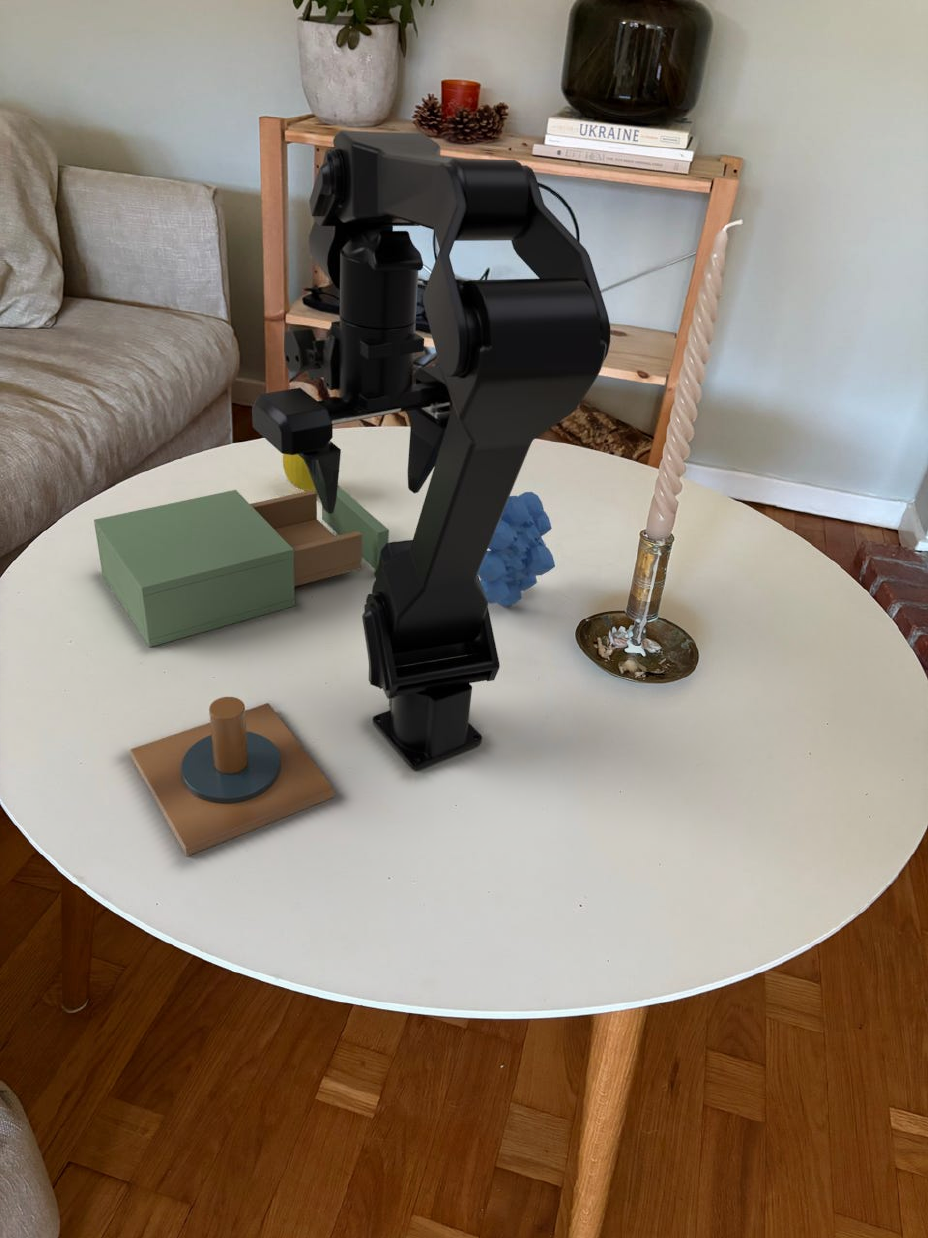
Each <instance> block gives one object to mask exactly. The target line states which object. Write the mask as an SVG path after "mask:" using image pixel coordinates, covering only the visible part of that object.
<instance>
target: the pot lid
mask: <svg viewBox="0 0 928 1238" xmlns="http://www.w3.org/2000/svg"><path fill="white" fill-rule="evenodd" d="M208 711H209V712H208V713H209V723H210V725H211V735H210V736H207V737H205V738H203V739H201V740H200V741H198V742H196V743H195V744H194V745H193V746H192V747H191V748H190V749H189V750H188V751H187V752H186V754H185V756H184V758H183V760H182V763H181V775H182V779H183V782H184V784H185V786H186V787H187V789H188V790H189V791H190V792H191V793H193V794H194V795H195V796H197V797H199V798H201V799H203V800H206V801H210V802H214V803H237V802H242V801H246V800H249V799H252V798H254V797H257V796H259V795H260V794H262V793H264V792H265V791H266V790H268V789H269V788H270V787H271V786H272V785H273V784H274V782H275V781H276V779H277V778H278V776H279V773H280V769H281V759H280V754H279V752H278V750H277V748H276V747H275V745H274V744H273V743H272V742H271V741H269V740H268V739H267V738H265V737H263V736H261V735H259V734H256V733H252V732H248V731H246V717H245V711H246V706H245V703H244V702H243V701H242V700H241V699H240V698H238V697H235V696H223V697H219V698H216V699H215V700H213V702H211V704H210V705H209V708H208Z"/></svg>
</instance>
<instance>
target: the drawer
mask: <svg viewBox="0 0 928 1238" xmlns="http://www.w3.org/2000/svg"><path fill="white" fill-rule="evenodd" d="M317 500H318V493H317V491H316V490H311V491H306V492H305V491H302V492H297V493H293V494H288V495H284V496H280V497H275V498H270V499H266V500H261V501H256V502H253V503H249V504H250V505H251V506H252V507H253V508H254V509H255V510H256V511H257V512H258V513H259V514H260V515H261V516H262V517H263V518H264V519H265V520H266V521H267V523H268V524H269V525H270V526H271V527H272V528H273V529H274V530H275V531H276V532H277V533H278V534H279V535H280V536H281V537H282V538H283V539H284V540H285V541H286V542H287V543H288V544H289V545H290V546H291V547H292V548H293V549H294V588H295V587H299V586H302V585H305V584H310V583H313V582H316V581H319V580H320V581H321V580H323V579H328V578H330V577H335V576H337V575H338V576H339V575H342V574H346V573H350V572H352V571H356V570H359V569H362V559H363V560H364V561H365V562H366V563H368V564H369V565H370V566H371V567H372V568H373V569H374V571H376V570H377V567H378V564H379V557H380V551H381V549H382V548H383V547H384V546H385V544H386V543H389V536H390V535H389V533H390V530H389V528H387V527H386V526H385V525H384V524H383V523H382V522H380V521H379V520H378V519H377V518H376V517H375V516H374V515H372V514H371V513H370V512H369V511H368V510H367V509H366V508H364V506H362V505H361V504H360V503H359V502H358V501H357V500H355V499H354V498H353V497H352V496H351V495H350V494H348V493H347V491H346V490H344V489H343V488H342V487H340V486H339V485H338V489H337V500H336V504H335V508H334V512H333V513H331V514H329V513H327V512H326V511H325V510H324V508H323V506H322V505H321V520H322V521H323V522H324V523H325V524H327V526H329V527H330V528H331V530H333V531H334V532H335V533H336V534H337V535H336V536H335V534H333V533H332V532H331V530H329V529H328V528H327V527H326V526H325V525H324V524H323V523H322V522H321V521H320V520H318V501H317Z"/></svg>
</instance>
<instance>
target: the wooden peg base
mask: <svg viewBox="0 0 928 1238" xmlns="http://www.w3.org/2000/svg"><path fill="white" fill-rule="evenodd" d="M245 717H246V731H248V732H252V733H256V734H259V735H261V736H263V737H265V738H267V739H268V740H269V741H271V742H272V743H273V744H274V745H275V747H276V748H277V750H278V752H279V754H280V759H281V769H280V773H279V776H278V778H277V779H276V781H275V782H274V784H273V785H272V786H271V787H270V788H269V789H268V790H266V791H265V792H264V793H262V794H260V795H259V796H257V797H254V798H252V799H249V800H246V801H242V802H237V803H214V802H210V801H206V800H203V799H201V798H199V797H197V796H195V795H194V794H193V793H191V792H190V791H189V790H188V789H187V787H186V786H185V784H184V782H183V779H182V775H181V763H182V760H183V758H184V756H185V754H186V752H187V751H188V750H189V749H190V748H191V747H192V746H193V745H194V744H195V743H196V742H198V741H200V740H201V739H203V738H205V737H207V736H210V735H211V725H210V722H208V723H204V724H201V725H198V726H196V727H195V726H194V727H192V728H190V729H187V730H184V731H181V732H178V733H174V734H171V735H168V736H166V737H162V738H159V739H156V740H153V741H151V742H148V743H145V744H141V745H139V746H136V747H132V748H130V750H129V752H130V757H131V759H132V761H133V763H134V765H135V767H136V768H137V770H138V772H139V774H140V775H141V777H142V779H143V781H144V782H145V785H146V786H147V788H148V790H149V792H150V793H151V796H152V797H153V799H154V801H155V802H156V804H157V806H158V808H159V809H160V811H161V813H162V815H163V817H164V818H165V820H166V822H167V824H168V825H169V828H170V829H171V831H172V833H173V834H174V836H175V838H176V840H177V842H178V843H179V845H180V847H181V849H182V851H183V852H184V854H185V856H186V857H189V856H192V855H195V854H196V853H200V852H202V851H204V850H206V849H209V848H211V847H215V846H216V845H219V844H222V843H224V842H227V841H229V840H232V839H234V838H236V837H239V836H241V835H244V834H246V833H249V832H251V831H253V830H256V829H258V828H259V829H260V828H261V827H263V826H266V825H269V824H271V823H273V822H276V821H278V820H281V819H284V818H286V817H289V816H290V815H291V816H292V815H293V814H295V813H298V812H301V811H303V810H305V809H308V808H311V807H313V806H315V805H318V804H320V803H322V802H325V801H328V800H330V799H333V798H335V789H334V787H333V786H332V785H331V783H330V782H329V781H328V780H327V778H326V777H325V775H324V774H323V773H322V772H321V770H320V769H319V768H318V766H317V765H316V764H315V762H314V761H313V760H312V758H311V757H310V755H308V753H307V752H306V750H305V749H304V748H303V747H302V745H301V744H300V742H299V741H298V740H297V738H295V736H294V734H293V733H292V731H290V729H289V728H288V727H287V725H286V724H285V723H284V721H283V720H282V719H281V718H280V716H279V715H278V713H277V712H276V711H275V710H274V708H273V707H272V705H271V704H270V703H269V702H267V703H264V704H261V705H258V706H255V707H251V708H248V709H245Z"/></svg>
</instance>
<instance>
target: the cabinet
mask: <svg viewBox="0 0 928 1238" xmlns="http://www.w3.org/2000/svg"><path fill="white" fill-rule="evenodd" d="M250 504H251V503H249V502H248V500H247V499H246V498H245V497H243V495H242V494H240V492H239V491H238V490H237V489H233V490H228V491H222V492H218V493H213V494H209V495H205V496H200V497H199V496H198V497H195V498H190V499H185V500H180V501H176V502H172V503H170V502H169V503H166V504H162V505H156V506H152V507H146V508H143V509H139V510H138V509H137V510H133V511H128V512H124V513H119V514H114V515H109V516H105V517H104V516H103V517H100V518H95V519H93V523H94V531H95V536H96V542H97V549H98V550H97V551H98V556H99V561H100V568H101V574H102V578H103V579H104V581H105V582H106V583H107V586H108V587H109V588H110V590H111V591H112V593H113V595H115V597H116V598H117V600H118V602H119V604H120V605H121V607H122V608H123V609H124V610H125V612H126V614H127V615H128V617H129V618H130V620H131V621H132V623H133V625H134V626H135V628H136V629H137V631H138V633H140V635H141V637H142V639H143V640H144V641H145V643H146V644H147V646H148V647H149V648H153V647H156V646H160V645H163V644H167V643H170V642H173V641H177V640H181V639H184V638H187V637H191V636H194V635H197V634H201V633H204V632H209V631H212V630H216V629H218V628H222V627H226V626H229V625H233V624H237V623H241V622H243V621H246V620H250V619H255V618H258V617H261V616H264V615H268V614H271V613H276V612H278V611H282V610H285V609H289V608H292V607H295V606H296V603H295V602H296V601H295V600H296V599H295V597H296V596H295V587H294V549H293V548H292V547H291V546H290V545H289V544H288V543H287V542H286V541H285V540H284V539H283V538H282V537H281V536H280V535H279V534H278V533H277V532H276V531H275V530H274V529H273V528H272V527H271V526H270V525H269V524H268V523H267V521H266V520H265V519H264V518H263V517H262V516H261V515H260V514H259V513H258V512H257V511H256V510H255V509H254V508H253V507H252V506H251V505H250Z"/></svg>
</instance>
